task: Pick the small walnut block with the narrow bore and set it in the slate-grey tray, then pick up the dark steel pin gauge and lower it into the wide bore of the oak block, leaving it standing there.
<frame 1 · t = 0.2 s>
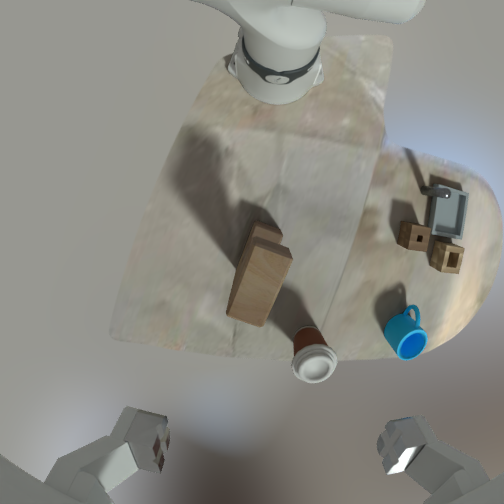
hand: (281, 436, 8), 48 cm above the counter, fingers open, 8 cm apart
pin gauge: (424, 190, 51), on the counter
coffee cup: (307, 337, 61), on the counter
mug: (400, 321, 60), on the counter
tray: (446, 211, 52), on the counter
decorative block: (258, 250, 56), on the counter
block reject: (408, 233, 54), on the counter
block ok: (441, 254, 55), on the counter
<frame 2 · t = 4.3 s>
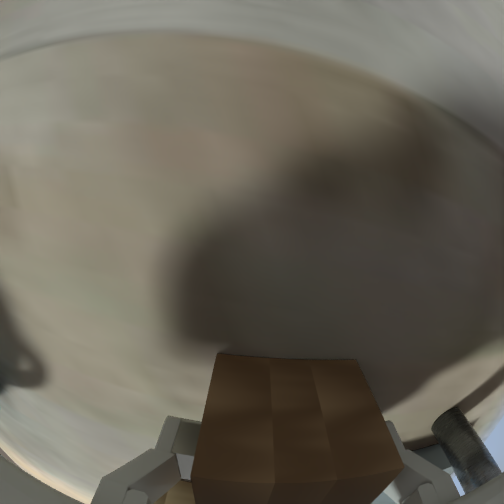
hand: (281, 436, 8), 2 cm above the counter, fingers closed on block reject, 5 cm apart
pin gauge: (446, 420, 10), on the counter
tray: (351, 494, 12), on the counter
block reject: (279, 407, 10), on the counter, touching gripper
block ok: (201, 500, 13), on the counter
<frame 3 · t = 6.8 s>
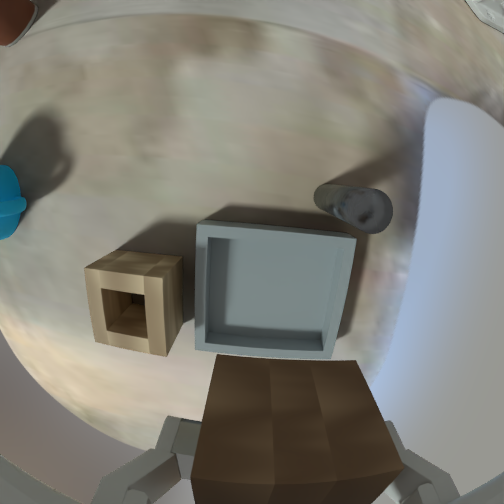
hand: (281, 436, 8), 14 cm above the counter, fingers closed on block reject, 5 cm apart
pin gauge: (326, 197, 20), on the counter
coffee cup: (20, 25, 15), on the counter
mug: (11, 201, 21), on the counter
tray: (270, 288, 22), on the counter
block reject: (279, 407, 10), point 13 cm above the counter, touching gripper
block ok: (148, 287, 22), on the counter
when the fingers open (3 cm above the counter, at t = 9.2 s): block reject stays where it is, resting on tray.
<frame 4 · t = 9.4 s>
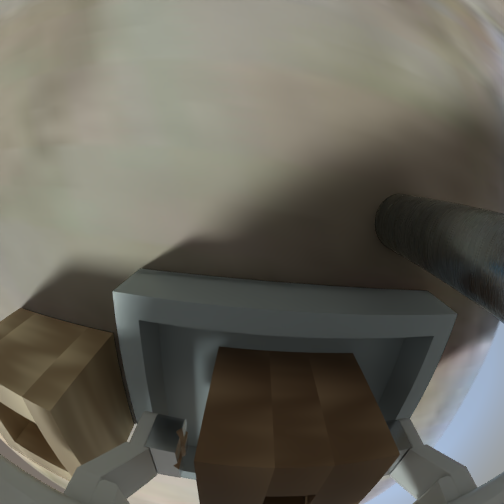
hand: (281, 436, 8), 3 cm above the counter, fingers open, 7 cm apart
pin gauge: (399, 222, 9), on the counter
tray: (277, 392, 11), on the counter
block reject: (279, 399, 10), resting on tray
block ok: (73, 370, 11), on the counter
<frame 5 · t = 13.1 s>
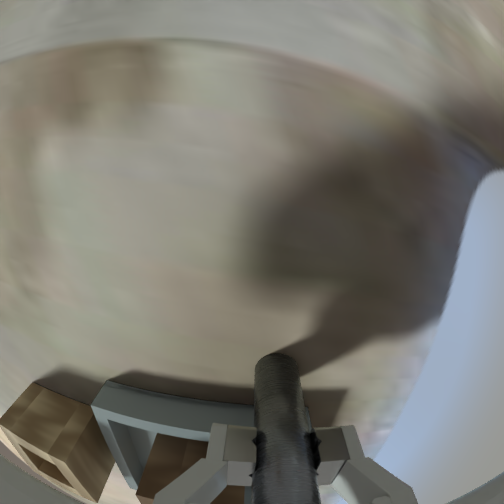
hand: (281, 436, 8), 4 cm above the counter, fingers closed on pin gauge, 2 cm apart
pin gauge: (276, 370, 12), on the counter, touching gripper
tray: (204, 450, 14), on the counter
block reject: (203, 456, 14), resting on tray
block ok: (74, 422, 14), on the counter
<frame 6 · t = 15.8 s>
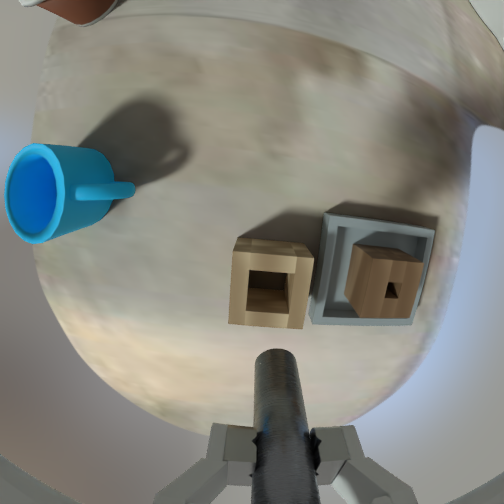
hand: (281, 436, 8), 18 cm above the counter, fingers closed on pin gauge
pin gauge: (275, 365, 13), point 14 cm above the counter, touching gripper
coffee cup: (96, 7, 19), on the counter
mug: (98, 187, 25), on the counter
tray: (369, 269, 26), on the counter
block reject: (371, 271, 25), resting on tray
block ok: (267, 271, 26), on the counter
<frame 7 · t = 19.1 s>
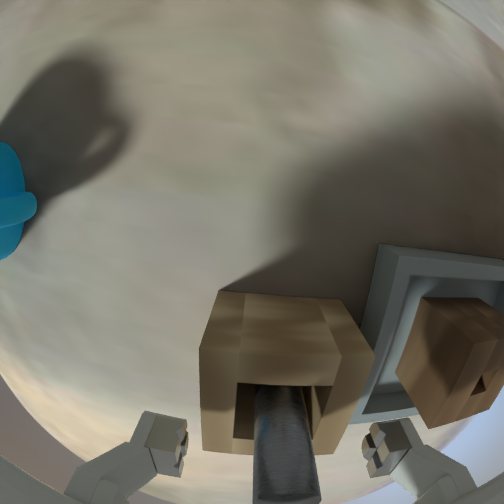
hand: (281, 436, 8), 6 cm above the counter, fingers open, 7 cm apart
pin gauge: (274, 347, 14), resting in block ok
mug: (9, 200, 13), on the counter
tray: (435, 332, 14), on the counter
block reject: (439, 335, 13), resting on tray
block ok: (273, 347, 14), on the counter
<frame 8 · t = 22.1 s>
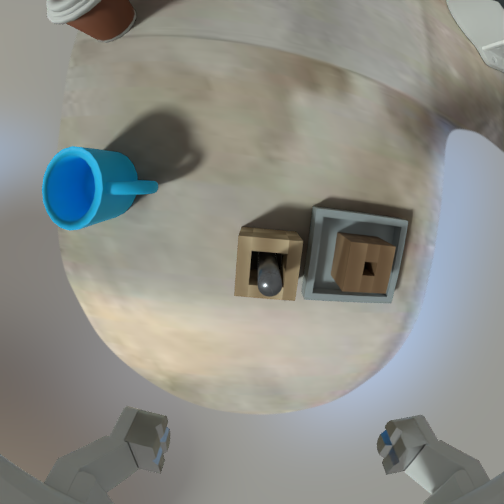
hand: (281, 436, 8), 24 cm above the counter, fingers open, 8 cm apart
pin gauge: (266, 255, 32), resting in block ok
coffee cup: (115, 24, 24), on the counter
mug: (123, 184, 30), on the counter
tray: (352, 254, 31), on the counter
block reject: (354, 255, 31), resting on tray
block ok: (266, 255, 32), on the counter
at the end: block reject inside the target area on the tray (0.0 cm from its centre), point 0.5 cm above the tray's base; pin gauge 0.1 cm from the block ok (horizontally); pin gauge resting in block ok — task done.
